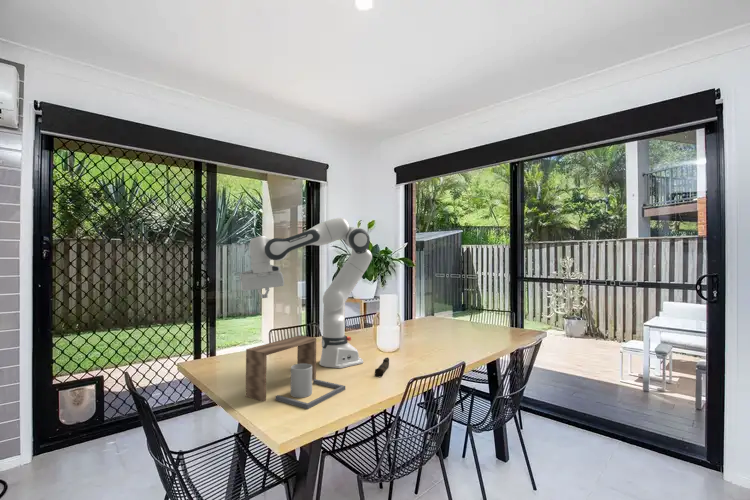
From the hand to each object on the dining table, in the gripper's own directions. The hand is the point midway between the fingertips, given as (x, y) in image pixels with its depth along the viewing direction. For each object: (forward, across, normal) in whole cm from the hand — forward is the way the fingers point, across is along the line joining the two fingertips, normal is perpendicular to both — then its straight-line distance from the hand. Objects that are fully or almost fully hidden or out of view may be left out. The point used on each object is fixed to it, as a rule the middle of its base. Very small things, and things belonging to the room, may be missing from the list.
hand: (264, 298), depth 180 cm
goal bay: (+40, +5, -36) cm, 53 cm away
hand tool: (+42, +46, -24) cm, 67 cm away
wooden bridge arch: (+37, -2, -22) cm, 44 cm away
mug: (+39, +3, -32) cm, 51 cm away
